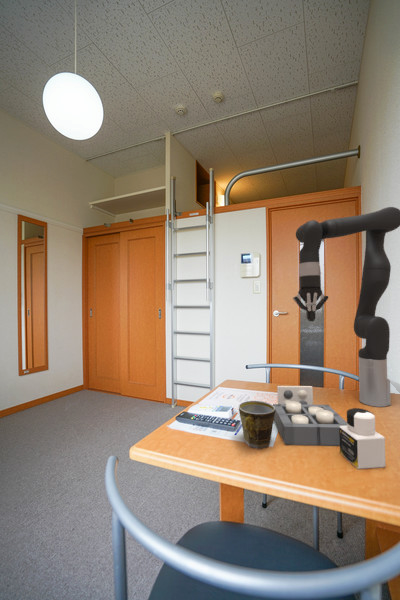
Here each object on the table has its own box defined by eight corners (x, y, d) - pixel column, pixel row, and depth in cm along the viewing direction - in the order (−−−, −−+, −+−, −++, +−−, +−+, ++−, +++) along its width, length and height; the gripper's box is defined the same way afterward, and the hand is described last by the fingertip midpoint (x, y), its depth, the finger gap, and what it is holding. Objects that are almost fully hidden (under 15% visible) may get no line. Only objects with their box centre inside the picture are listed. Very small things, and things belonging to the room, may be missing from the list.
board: (328, 419, 91) (328, 404, 91) (353, 446, 74) (352, 427, 74) (273, 419, 92) (272, 404, 92) (284, 444, 75) (284, 426, 76)
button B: (329, 419, 82) (329, 409, 82) (336, 426, 77) (336, 416, 77) (313, 419, 82) (313, 409, 82) (319, 426, 77) (319, 415, 77)
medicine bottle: (339, 453, 71) (338, 406, 71) (365, 451, 72) (364, 405, 72) (357, 469, 64) (356, 417, 64) (386, 467, 64) (385, 416, 65)
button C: (298, 410, 89) (298, 401, 89) (303, 416, 85) (303, 406, 85) (284, 410, 90) (284, 401, 90) (287, 416, 85) (287, 406, 85)
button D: (305, 424, 82) (305, 414, 82) (310, 432, 78) (310, 421, 78) (290, 424, 83) (289, 414, 83) (294, 431, 78) (293, 421, 78)
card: (312, 411, 98) (311, 386, 98) (313, 412, 97) (312, 387, 97) (277, 411, 99) (277, 385, 99) (278, 412, 98) (278, 386, 98)
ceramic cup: (247, 431, 84) (246, 398, 84) (280, 439, 79) (279, 404, 79) (229, 451, 73) (228, 413, 73) (266, 462, 67) (265, 421, 68)
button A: (321, 415, 89) (321, 406, 89) (326, 421, 84) (326, 412, 84) (306, 415, 89) (306, 406, 89) (311, 421, 84) (311, 411, 84)
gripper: (324, 275, 108) (325, 320, 107) (289, 276, 108) (290, 320, 108) (331, 273, 100) (333, 321, 100) (294, 274, 101) (295, 322, 101)
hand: (310, 321), depth 104 cm, fingers closed
